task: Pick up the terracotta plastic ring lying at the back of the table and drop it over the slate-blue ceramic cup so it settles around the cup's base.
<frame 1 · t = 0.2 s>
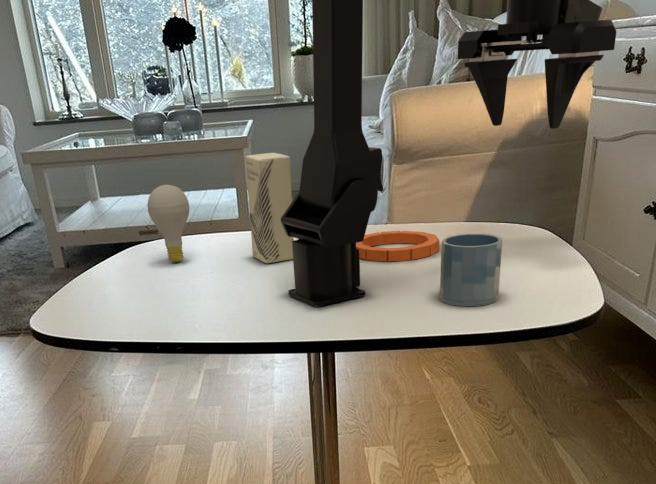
hand: (524, 126, 87), 14 cm above the table, tool pointing down, fingers open, 9 cm apart
box: (274, 260, 100), on the table
cup: (468, 298, 79), on the table
ring: (394, 250, 100), on the table
light bulb: (176, 263, 102), on the table
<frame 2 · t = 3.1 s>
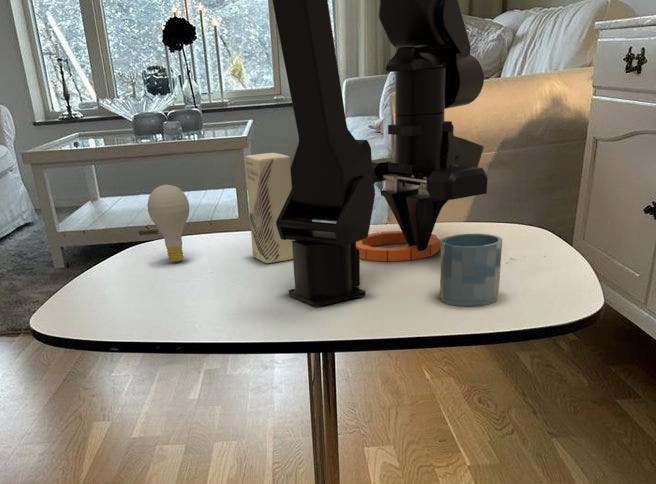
hand: (417, 249, 95), 1 cm above the table, tool pointing down, fingers closed on ring, 1 cm apart
ring: (394, 250, 100), on the table, touching gripper
everything else where it was.
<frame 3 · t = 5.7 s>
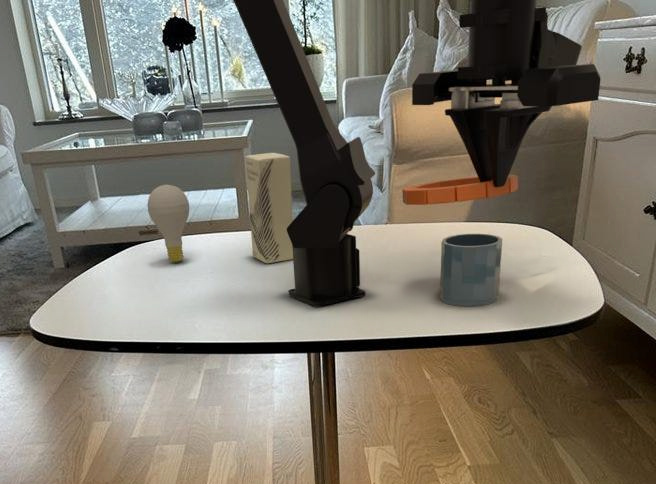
hand: (492, 185, 73), 11 cm above the table, tool pointing down, fingers closed on ring
ring: (459, 196, 78), point 10 cm above the table, tilted 6°, touching gripper
everything else where it was.
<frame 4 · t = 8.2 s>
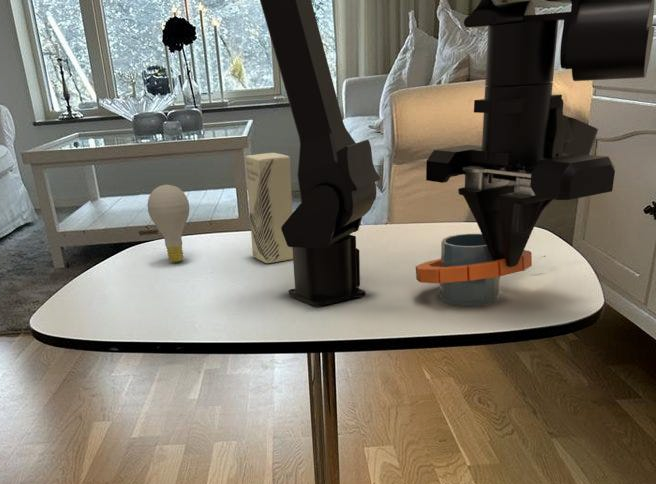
hand: (505, 264, 73), 4 cm above the table, tool pointing down, fingers closed on ring
ring: (473, 272, 78), point 3 cm above the table, tilted 10°, touching gripper
everything else where it was.
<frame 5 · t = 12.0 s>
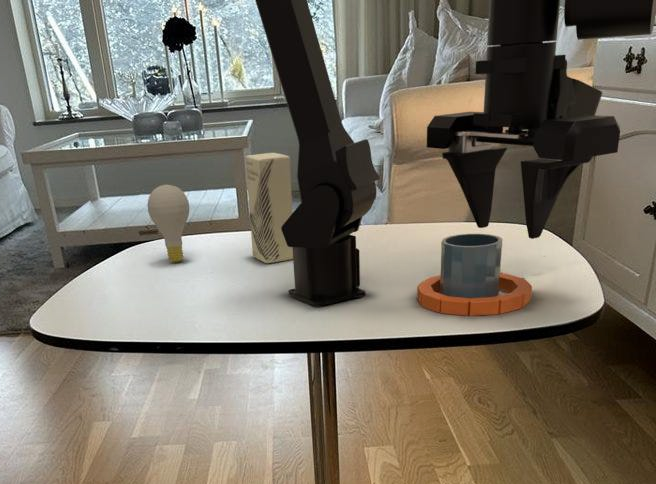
hand: (507, 232, 71), 7 cm above the table, tool pointing down, fingers open, 7 cm apart
ring: (472, 298, 79), on the table
everything else where it was.
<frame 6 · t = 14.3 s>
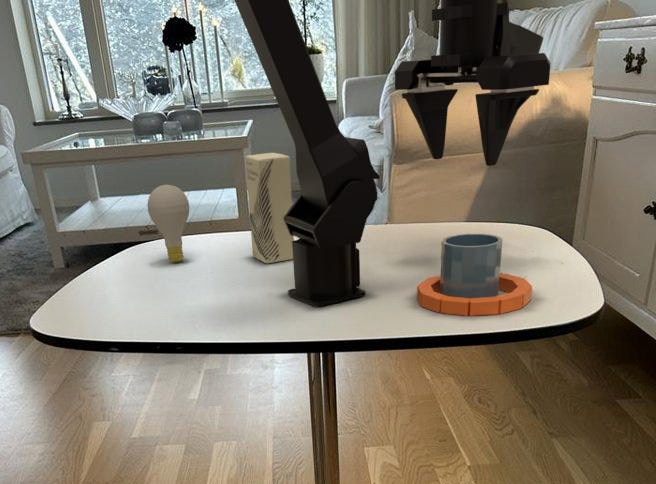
hand: (463, 162, 82), 12 cm above the table, tool pointing down, fingers open, 9 cm apart
nothing on the table moved.
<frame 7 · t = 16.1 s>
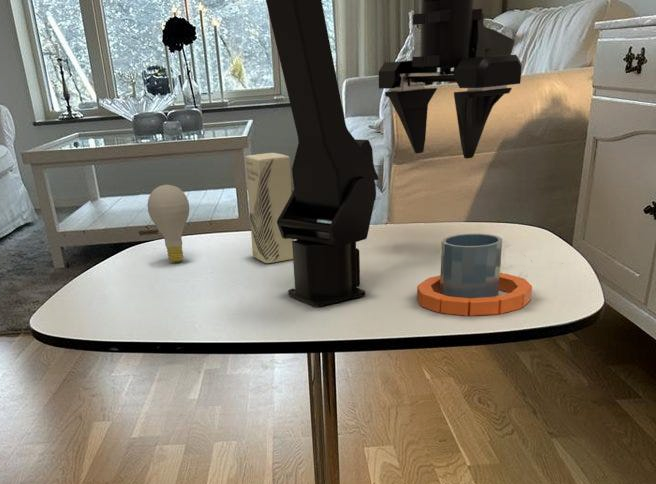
hand: (442, 155, 89), 12 cm above the table, tool pointing down, fingers open, 9 cm apart
nothing on the table moved.
at the end: ring 0.5 cm from the cup (horizontally); ring on the table; the gripper is holding nothing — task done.
